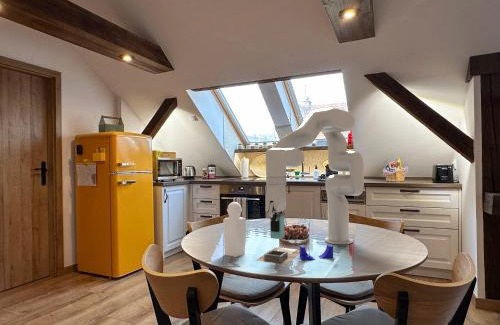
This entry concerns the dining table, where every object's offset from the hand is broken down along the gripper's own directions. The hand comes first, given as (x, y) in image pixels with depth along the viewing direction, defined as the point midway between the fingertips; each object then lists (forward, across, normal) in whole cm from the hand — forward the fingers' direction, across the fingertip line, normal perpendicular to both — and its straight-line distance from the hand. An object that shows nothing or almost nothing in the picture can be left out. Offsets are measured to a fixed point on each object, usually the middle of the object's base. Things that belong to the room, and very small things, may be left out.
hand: (277, 229), depth 119 cm
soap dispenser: (+12, +2, -18) cm, 21 cm away
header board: (+12, -4, 0) cm, 13 cm away
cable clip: (+13, -6, +13) cm, 19 cm away
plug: (+3, 0, 0) cm, 3 cm away
